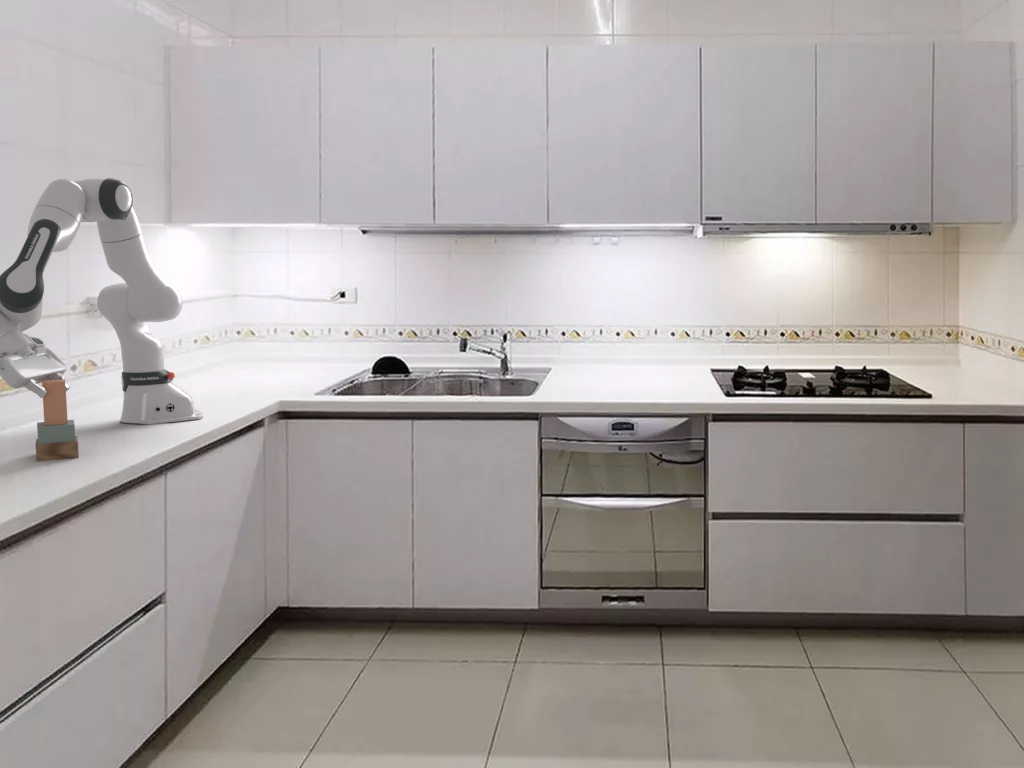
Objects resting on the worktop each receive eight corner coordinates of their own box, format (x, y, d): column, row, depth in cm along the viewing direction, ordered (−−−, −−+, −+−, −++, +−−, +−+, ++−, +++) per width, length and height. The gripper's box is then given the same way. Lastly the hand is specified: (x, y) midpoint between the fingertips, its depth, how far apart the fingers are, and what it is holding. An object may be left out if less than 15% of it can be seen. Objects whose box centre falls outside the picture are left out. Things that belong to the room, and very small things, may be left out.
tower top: (74, 436, 254) (73, 419, 253) (75, 441, 247) (74, 424, 246) (38, 438, 251) (37, 422, 250) (38, 444, 243) (37, 427, 243)
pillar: (67, 420, 252) (64, 379, 251) (67, 423, 247) (65, 381, 246) (44, 422, 250) (41, 380, 248) (44, 425, 245) (41, 382, 244)
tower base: (78, 452, 255) (77, 435, 254) (78, 458, 246) (77, 441, 246) (37, 455, 251) (36, 438, 251) (36, 462, 243) (35, 445, 243)
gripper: (-4, 346, 236) (40, 389, 237) (45, 338, 257) (86, 378, 257) (-21, 366, 237) (23, 408, 238) (29, 356, 258) (70, 396, 258)
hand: (56, 392), depth 247 cm, fingers open, 8 cm apart
